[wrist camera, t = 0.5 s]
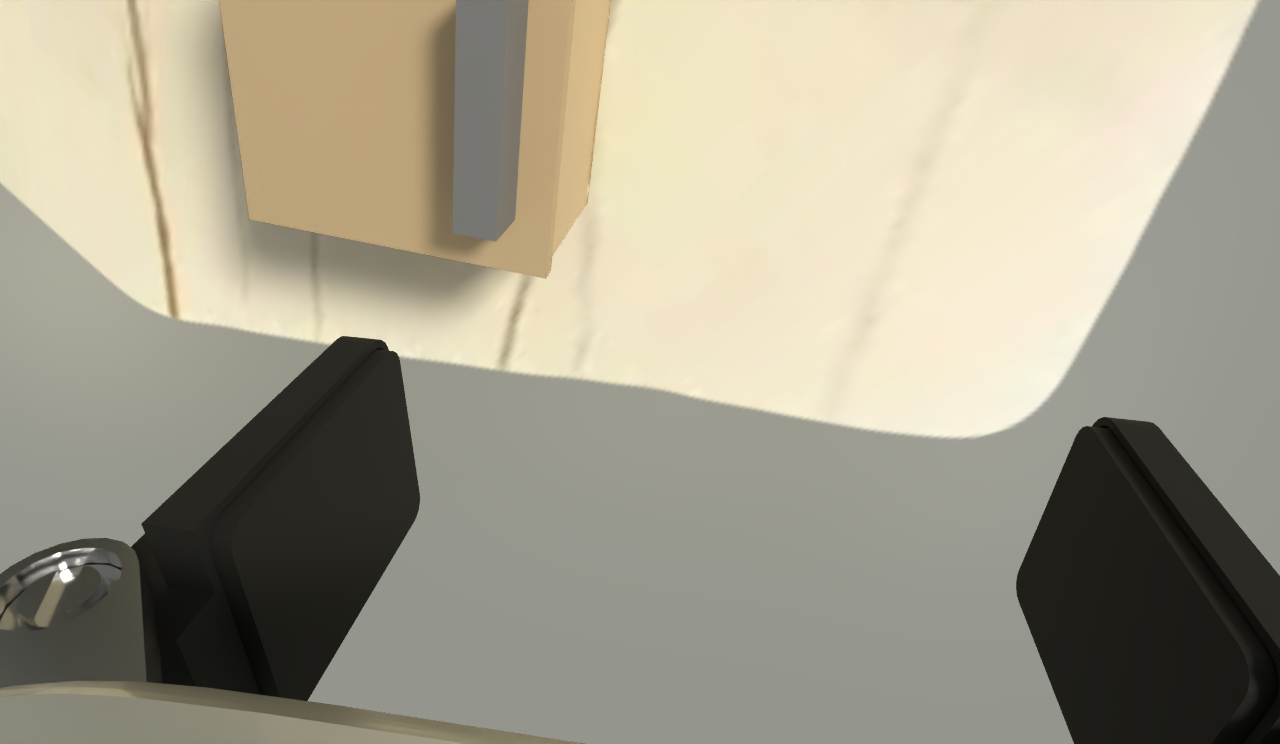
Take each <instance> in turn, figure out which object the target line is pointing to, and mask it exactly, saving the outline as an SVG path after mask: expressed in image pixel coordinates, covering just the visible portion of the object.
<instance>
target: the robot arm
mask: <svg viewBox="0 0 1280 744" xmlns="http://www.w3.org/2000/svg"><path fill="white" fill-rule="evenodd" d="M419 503H420V493H419V487H418V480H417V474H416V467H415V460H414V453H413V446H412V439H411V433H410V426H409V419H408V413H407V406H406V399H405V392H404V385H403V379H402V372H401V366H400V360H399V357H398V355H397V353H396V352H394V351H389V349H388V347H387V345H386V343H385V342H383V341H382V340H376V339H367V338H358V337H348V336H341V337H340V338H338V339H337V340H336V341H335V342H334V343H333V344H331V345H330V346H329V347H328V348H327V349H326V350H325V351H324V352H323V353H322V354H321V355H320V356H319V357H318V358H317V359H316V360H315V361H314V362H313V363H311V364H310V365H309V366H308V367H307V368H306V369H305V370H304V371H303V372H302V373H301V374H300V375H299V376H298V377H296V379H294V380H293V381H292V382H291V383H290V384H289V385H288V386H287V387H286V388H285V389H284V390H283V391H282V392H281V393H280V394H278V395H277V396H276V397H275V398H274V399H273V400H272V401H271V402H270V403H269V404H268V405H267V406H266V407H265V408H264V409H263V410H262V411H261V412H259V413H258V414H257V415H256V416H255V417H254V418H253V419H252V420H251V421H250V422H249V423H248V424H247V425H246V426H245V427H244V428H242V429H241V430H240V431H239V432H238V433H237V434H236V435H235V436H234V437H233V438H232V439H231V440H230V441H229V442H228V443H227V444H226V445H224V446H223V447H222V448H221V449H220V450H219V451H218V452H217V453H216V454H215V455H214V456H213V457H212V458H211V459H210V460H209V461H207V462H206V463H205V464H204V465H203V466H202V467H201V468H200V469H199V470H198V471H197V472H196V473H195V474H194V475H193V476H192V477H191V478H189V479H188V480H187V481H186V482H185V483H184V484H183V485H182V486H181V487H180V488H179V489H178V490H177V491H176V492H175V493H174V494H173V495H171V497H169V498H168V499H167V500H166V501H165V502H164V503H163V504H162V505H161V506H160V507H159V508H158V509H157V510H156V511H155V512H153V513H152V514H151V515H150V516H149V517H148V518H147V519H146V520H145V521H144V522H143V523H142V526H143V529H144V531H145V534H144V535H143V536H142V537H141V538H140V539H139V540H138V541H137V542H136V543H135V544H134V545H133V546H132V547H130V546H128V545H127V544H125V543H124V542H122V541H117V540H112V539H108V538H90V539H80V540H76V541H71V542H66V543H62V544H58V545H56V546H53V547H50V548H48V549H45V550H42V551H39V552H37V553H34V554H32V555H30V556H29V557H27V558H25V559H23V560H22V561H19V562H18V563H16V564H14V565H12V566H10V567H9V568H8V569H6V570H5V571H4V572H2V573H1V574H0V744H584V743H578V742H572V741H565V740H559V739H553V738H546V737H539V736H533V735H526V734H520V733H514V732H507V731H501V730H494V729H488V728H481V727H475V726H468V725H461V724H455V723H449V722H443V721H436V720H429V719H423V718H417V717H410V716H403V715H397V714H390V713H384V712H378V711H371V710H365V709H358V708H352V707H345V706H339V705H331V704H324V703H317V702H309V701H307V700H308V699H309V697H310V695H311V694H312V692H313V690H314V689H315V687H316V685H317V684H318V682H319V680H320V679H321V677H322V675H323V674H324V672H325V670H326V669H327V667H328V665H329V664H330V662H331V660H332V658H333V657H334V655H335V654H336V652H337V650H338V648H339V647H340V645H341V643H342V642H343V640H344V638H345V637H346V635H347V633H348V632H349V630H350V628H351V627H352V625H353V623H354V622H355V620H356V618H357V617H358V615H359V613H360V612H361V610H362V608H363V606H364V605H365V603H366V601H367V600H368V598H369V596H370V595H371V593H372V591H373V590H374V588H375V586H376V585H377V583H378V581H379V580H380V578H381V576H382V575H383V573H384V571H385V570H386V567H387V566H388V564H389V563H390V561H391V559H392V558H393V556H394V554H395V553H396V551H397V549H398V548H399V546H400V544H401V543H402V541H403V539H404V538H405V536H406V534H407V532H408V531H409V529H410V528H411V526H412V524H413V523H414V521H415V518H416V516H417V513H418V510H419ZM1016 585H1017V586H1016V590H1017V597H1018V600H1019V603H1020V606H1021V608H1022V611H1023V613H1024V616H1025V618H1026V621H1027V624H1028V626H1029V629H1030V631H1031V634H1032V636H1033V639H1034V642H1035V644H1036V647H1037V649H1038V652H1039V654H1040V657H1041V659H1042V662H1043V665H1044V667H1045V670H1046V672H1047V675H1048V678H1049V680H1050V683H1051V685H1052V688H1053V690H1054V693H1055V696H1056V698H1057V701H1058V703H1059V706H1060V708H1061V711H1062V714H1063V716H1064V719H1065V721H1066V724H1067V726H1068V729H1069V732H1070V734H1071V737H1072V739H1073V742H1074V744H1280V576H1279V575H1278V573H1277V572H1276V571H1275V570H1274V569H1273V567H1272V566H1271V565H1270V563H1269V562H1268V561H1267V560H1266V559H1265V557H1264V556H1263V555H1262V554H1261V552H1260V551H1259V550H1258V549H1257V548H1256V546H1255V545H1254V544H1253V543H1252V541H1251V540H1250V539H1249V538H1248V537H1247V535H1246V534H1245V533H1244V532H1243V530H1242V529H1241V528H1240V527H1239V526H1238V524H1237V523H1236V522H1235V521H1234V519H1233V518H1232V517H1231V516H1230V515H1229V513H1228V512H1227V511H1226V509H1225V508H1224V507H1223V506H1222V505H1221V503H1220V502H1219V501H1218V500H1217V498H1216V497H1215V496H1214V495H1213V494H1212V492H1211V491H1210V490H1209V489H1208V487H1207V486H1206V485H1205V484H1204V483H1203V481H1202V480H1201V479H1200V478H1199V477H1198V475H1197V474H1196V473H1195V472H1194V470H1193V469H1192V468H1191V467H1190V465H1189V464H1188V463H1187V462H1186V460H1185V459H1184V458H1183V457H1182V455H1181V454H1180V453H1179V452H1178V451H1177V449H1176V448H1175V447H1174V446H1173V445H1172V443H1171V442H1170V441H1169V440H1168V439H1167V437H1166V436H1165V435H1164V434H1163V432H1162V431H1161V430H1160V428H1159V427H1157V426H1156V425H1155V424H1154V423H1151V422H1145V421H1136V420H1127V419H1116V418H1107V417H1103V418H1100V419H1098V420H1097V421H1096V422H1095V423H1094V424H1093V426H1092V427H1089V426H1086V427H1083V428H1082V429H1081V430H1080V431H1079V432H1078V434H1077V436H1076V438H1075V440H1074V442H1073V445H1072V447H1071V450H1070V452H1069V454H1068V457H1067V459H1066V461H1065V463H1064V466H1063V468H1062V471H1061V473H1060V475H1059V478H1058V480H1057V482H1056V485H1055V487H1054V489H1053V492H1052V494H1051V496H1050V499H1049V501H1048V503H1047V506H1046V508H1045V511H1044V513H1043V515H1042V518H1041V520H1040V522H1039V525H1038V527H1037V530H1036V532H1035V534H1034V536H1033V539H1032V541H1031V543H1030V546H1029V548H1028V551H1027V553H1026V555H1025V558H1024V560H1023V562H1022V565H1021V567H1020V569H1019V572H1018V576H1017V582H1016Z"/></svg>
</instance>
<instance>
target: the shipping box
mask: <svg viewBox="0 0 1280 744" xmlns="http://www.w3.org/2000/svg"><path fill="white" fill-rule="evenodd" d="M610 1H611V0H576V3H575V14H574V25H573V36H572V47H571V58H570V68H569V79H568V90H567V101H566V112H565V123H564V133H563V144H562V155H561V166H560V177H559V188H558V198H557V209H556V220H555V231H554V242H553V253H552V256H553V254H554V253H555V251H556V250H557V248H558V247H559V245H560V244H561V242H562V241H563V239H564V238H565V236H566V235H567V233H568V231H569V230H570V228H571V227H572V225H573V224H574V222H575V221H576V219H577V218H578V216H579V215H580V213H581V212H582V210H583V209H584V207H585V205H586V204H587V202H588V193H589V184H590V175H591V167H592V158H593V149H594V141H595V132H596V123H597V114H598V106H599V97H600V88H601V80H602V71H603V62H604V53H605V45H606V36H607V27H608V19H609V10H610Z"/></svg>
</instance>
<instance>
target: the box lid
mask: <svg viewBox="0 0 1280 744" xmlns="http://www.w3.org/2000/svg"><path fill="white" fill-rule="evenodd" d="M219 3H220V10H221V17H222V25H223V32H224V39H225V46H226V54H227V61H228V68H229V75H230V83H231V90H232V97H233V104H234V112H235V119H236V126H237V133H238V141H239V148H240V155H241V162H242V170H243V177H244V184H245V191H246V199H247V206H248V213H249V220H254V221H259V222H264V223H269V224H274V225H279V226H284V227H290V228H295V229H300V230H305V231H310V232H315V233H320V234H325V235H330V236H335V237H340V238H345V239H350V240H355V241H360V242H365V243H370V244H375V245H380V246H385V247H390V248H395V249H400V250H405V251H410V252H415V253H420V254H425V255H430V256H435V257H440V258H446V259H451V260H456V261H461V262H466V263H471V264H476V265H481V266H486V267H491V268H496V269H501V270H506V271H511V272H516V273H521V274H526V275H531V276H536V277H541V278H547V276H548V274H549V273H550V271H551V263H552V253H553V242H554V231H555V220H556V209H557V198H558V188H559V177H560V166H561V155H562V144H563V133H564V123H565V112H566V101H567V90H568V79H569V68H570V58H571V47H572V36H573V25H574V14H575V3H576V0H219Z"/></svg>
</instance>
